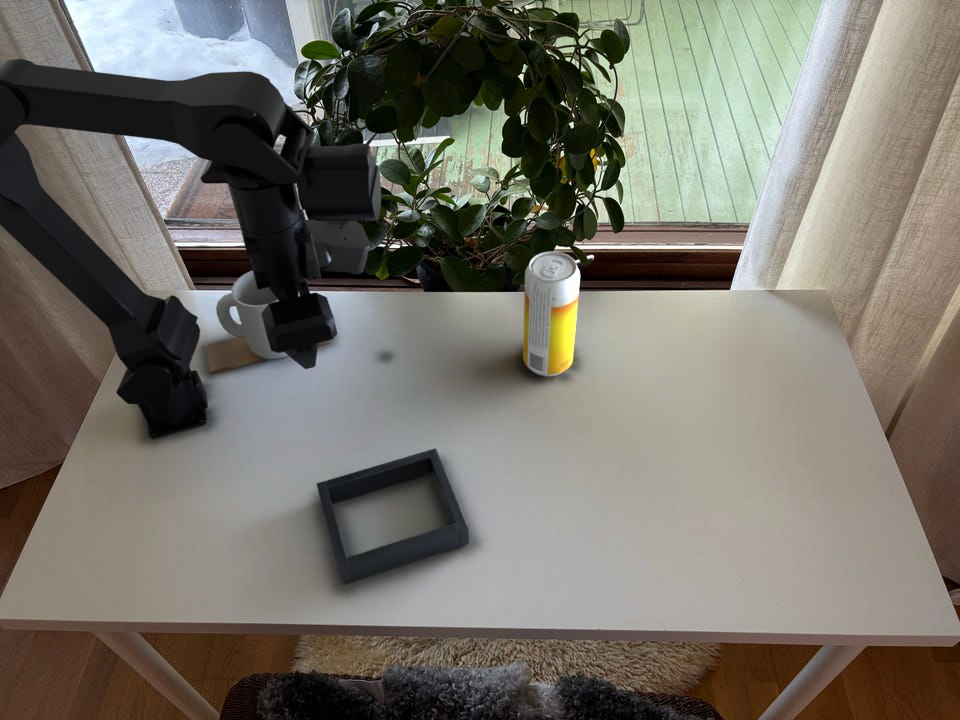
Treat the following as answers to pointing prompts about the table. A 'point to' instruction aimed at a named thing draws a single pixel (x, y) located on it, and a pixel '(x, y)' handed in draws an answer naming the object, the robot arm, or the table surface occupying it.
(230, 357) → the cork mat
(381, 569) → the rectangular frame
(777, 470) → the table surface
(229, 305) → the cup
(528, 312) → the beer can
